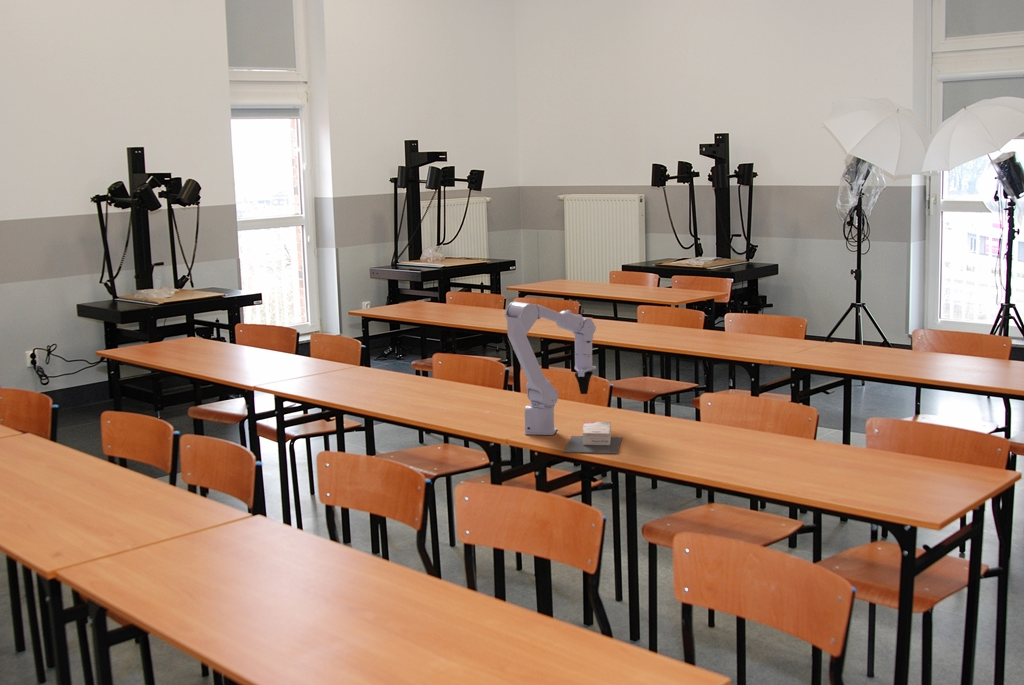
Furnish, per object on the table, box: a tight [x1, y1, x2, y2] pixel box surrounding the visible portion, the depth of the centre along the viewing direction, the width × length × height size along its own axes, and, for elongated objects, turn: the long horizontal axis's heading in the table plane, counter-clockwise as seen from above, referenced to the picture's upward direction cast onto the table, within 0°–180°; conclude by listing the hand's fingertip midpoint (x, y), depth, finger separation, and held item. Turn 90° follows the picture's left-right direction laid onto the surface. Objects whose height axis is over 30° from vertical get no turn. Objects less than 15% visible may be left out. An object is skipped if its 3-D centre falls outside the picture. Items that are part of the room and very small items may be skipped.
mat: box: [563, 435, 623, 455], centre depth 303 cm, size 16×18×1 cm
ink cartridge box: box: [582, 421, 612, 445], centre depth 305 cm, size 9×5×15 cm
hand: (583, 393), depth 328 cm, fingers closed
